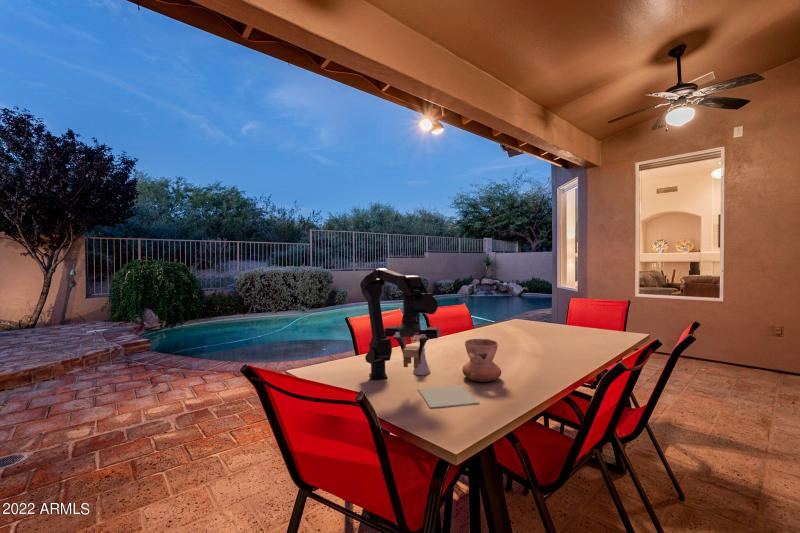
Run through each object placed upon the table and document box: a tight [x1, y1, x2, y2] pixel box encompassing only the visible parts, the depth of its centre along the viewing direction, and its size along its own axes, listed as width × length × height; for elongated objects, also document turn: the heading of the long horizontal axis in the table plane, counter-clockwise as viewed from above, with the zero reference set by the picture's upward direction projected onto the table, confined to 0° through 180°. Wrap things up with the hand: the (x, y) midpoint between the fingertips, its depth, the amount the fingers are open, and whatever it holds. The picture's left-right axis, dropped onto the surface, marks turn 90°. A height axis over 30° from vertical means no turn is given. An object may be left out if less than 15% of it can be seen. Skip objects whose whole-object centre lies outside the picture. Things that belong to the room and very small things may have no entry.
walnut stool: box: [402, 345, 421, 369], centre depth 116 cm, size 6×5×6 cm
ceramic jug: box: [461, 338, 502, 383], centre depth 130 cm, size 18×14×14 cm
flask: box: [412, 347, 431, 376], centre depth 137 cm, size 7×7×10 cm
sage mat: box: [417, 384, 480, 409], centre depth 112 cm, size 16×16×1 cm
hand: (412, 357), depth 116 cm, fingers closed on walnut stool, 5 cm apart
